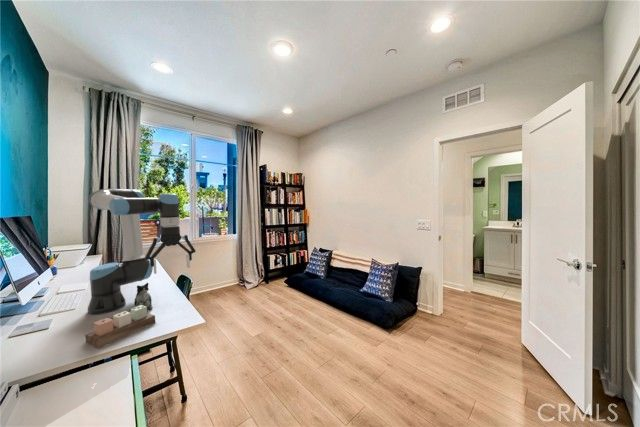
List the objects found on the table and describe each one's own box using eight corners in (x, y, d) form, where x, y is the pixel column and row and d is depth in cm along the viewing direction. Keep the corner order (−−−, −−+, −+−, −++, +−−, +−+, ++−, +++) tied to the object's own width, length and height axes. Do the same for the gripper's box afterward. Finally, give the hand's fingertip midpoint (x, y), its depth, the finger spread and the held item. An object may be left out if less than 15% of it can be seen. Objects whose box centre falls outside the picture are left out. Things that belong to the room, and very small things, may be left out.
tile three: (131, 319, 107) (130, 308, 107) (141, 315, 111) (141, 304, 111) (136, 321, 105) (136, 310, 105) (147, 317, 109) (146, 306, 109)
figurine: (131, 318, 114) (129, 288, 113) (127, 311, 121) (125, 283, 120) (154, 310, 122) (152, 282, 121) (149, 305, 128) (147, 278, 127)
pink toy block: (94, 334, 95) (93, 322, 95) (107, 329, 99) (107, 317, 99) (100, 337, 93) (99, 324, 93) (113, 331, 97) (112, 319, 97)
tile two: (113, 326, 101) (113, 315, 101) (125, 321, 105) (125, 310, 105) (119, 328, 99) (118, 317, 99) (131, 323, 103) (130, 312, 103)
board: (85, 342, 95) (85, 334, 95) (142, 318, 114) (142, 311, 114) (98, 348, 91) (97, 340, 90) (155, 322, 110) (154, 315, 110)
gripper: (137, 229, 99) (140, 277, 101) (201, 224, 116) (202, 266, 117) (136, 227, 105) (139, 273, 106) (197, 223, 121) (198, 263, 123)
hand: (172, 270), depth 112 cm, fingers open, 13 cm apart
